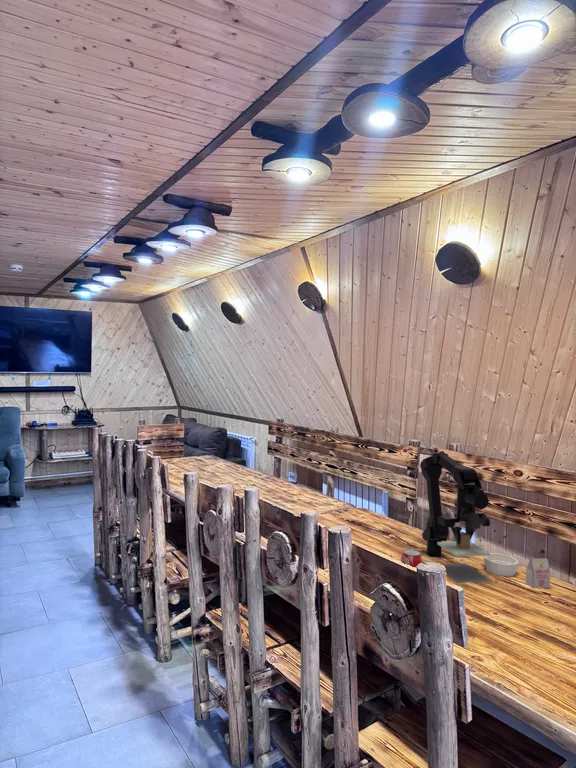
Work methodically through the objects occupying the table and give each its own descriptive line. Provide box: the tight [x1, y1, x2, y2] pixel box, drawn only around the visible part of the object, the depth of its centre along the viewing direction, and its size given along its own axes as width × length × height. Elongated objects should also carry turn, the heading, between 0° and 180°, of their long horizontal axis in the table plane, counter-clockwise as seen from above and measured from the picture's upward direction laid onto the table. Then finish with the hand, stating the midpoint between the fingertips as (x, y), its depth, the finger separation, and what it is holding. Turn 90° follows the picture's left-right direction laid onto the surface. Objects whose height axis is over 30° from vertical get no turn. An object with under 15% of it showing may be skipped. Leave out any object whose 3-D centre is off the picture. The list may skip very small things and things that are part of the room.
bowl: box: [483, 552, 520, 577], centre depth 194 cm, size 12×12×5 cm
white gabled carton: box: [525, 558, 551, 590], centre depth 182 cm, size 4×7×10 cm, turn 99°
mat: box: [441, 562, 492, 584], centre depth 191 cm, size 17×14×1 cm
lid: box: [437, 532, 490, 558], centre depth 190 cm, size 14×14×6 cm
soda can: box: [400, 548, 423, 567], centre depth 177 cm, size 7×7×12 cm
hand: (462, 543), depth 190 cm, fingers closed on lid, 3 cm apart
